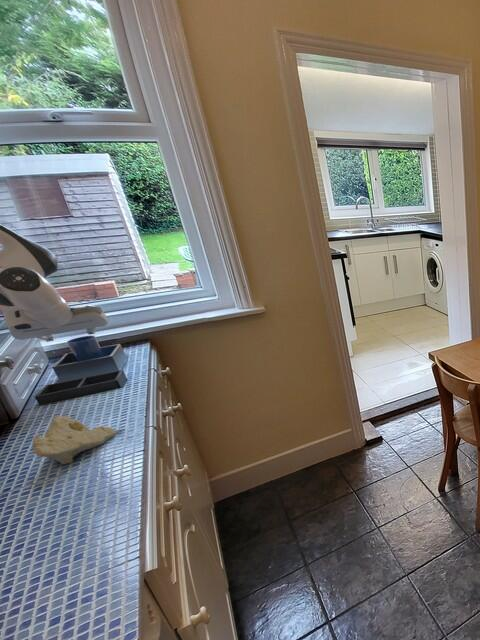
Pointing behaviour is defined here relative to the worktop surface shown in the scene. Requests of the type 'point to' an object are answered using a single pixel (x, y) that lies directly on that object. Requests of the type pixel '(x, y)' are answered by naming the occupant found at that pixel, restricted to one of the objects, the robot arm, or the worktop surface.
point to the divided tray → (81, 387)
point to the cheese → (69, 439)
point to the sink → (90, 364)
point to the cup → (85, 348)
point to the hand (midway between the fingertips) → (71, 335)
